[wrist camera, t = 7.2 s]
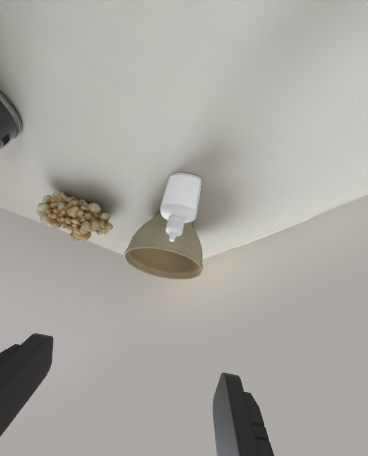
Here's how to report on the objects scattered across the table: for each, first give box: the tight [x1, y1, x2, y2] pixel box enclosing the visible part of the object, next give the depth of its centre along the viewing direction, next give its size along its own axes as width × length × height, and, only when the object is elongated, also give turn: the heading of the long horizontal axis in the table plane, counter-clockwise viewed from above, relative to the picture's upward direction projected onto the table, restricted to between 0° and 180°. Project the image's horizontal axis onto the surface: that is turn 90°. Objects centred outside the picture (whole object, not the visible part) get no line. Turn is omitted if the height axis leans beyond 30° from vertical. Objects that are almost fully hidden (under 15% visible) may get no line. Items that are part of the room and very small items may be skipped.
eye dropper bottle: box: [160, 173, 202, 242], centre depth 29 cm, size 4×6×12 cm
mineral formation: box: [36, 192, 113, 241], centre depth 42 cm, size 8×13×15 cm
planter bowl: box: [124, 213, 203, 279], centre depth 41 cm, size 16×16×11 cm
